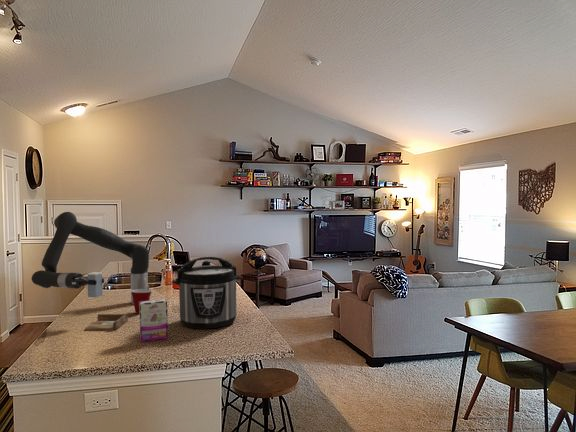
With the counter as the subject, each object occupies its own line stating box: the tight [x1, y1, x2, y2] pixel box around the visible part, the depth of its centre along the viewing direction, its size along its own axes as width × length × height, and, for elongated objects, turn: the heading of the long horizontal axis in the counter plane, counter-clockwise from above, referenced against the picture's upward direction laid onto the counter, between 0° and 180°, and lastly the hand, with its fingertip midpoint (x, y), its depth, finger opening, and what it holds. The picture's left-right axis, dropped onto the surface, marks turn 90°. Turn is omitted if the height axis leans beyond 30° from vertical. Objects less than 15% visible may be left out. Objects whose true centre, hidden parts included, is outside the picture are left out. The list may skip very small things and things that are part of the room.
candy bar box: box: [138, 298, 169, 343], centre depth 182 cm, size 11×5×16 cm, turn 114°
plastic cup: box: [130, 289, 153, 315], centre depth 226 cm, size 11×11×12 cm
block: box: [87, 271, 104, 298], centre depth 204 cm, size 5×5×11 cm
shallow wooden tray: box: [84, 313, 129, 332], centre depth 202 cm, size 15×14×4 cm
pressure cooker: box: [171, 256, 243, 329], centre depth 207 cm, size 30×28×32 cm
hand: (99, 281), depth 203 cm, fingers closed on block, 4 cm apart
